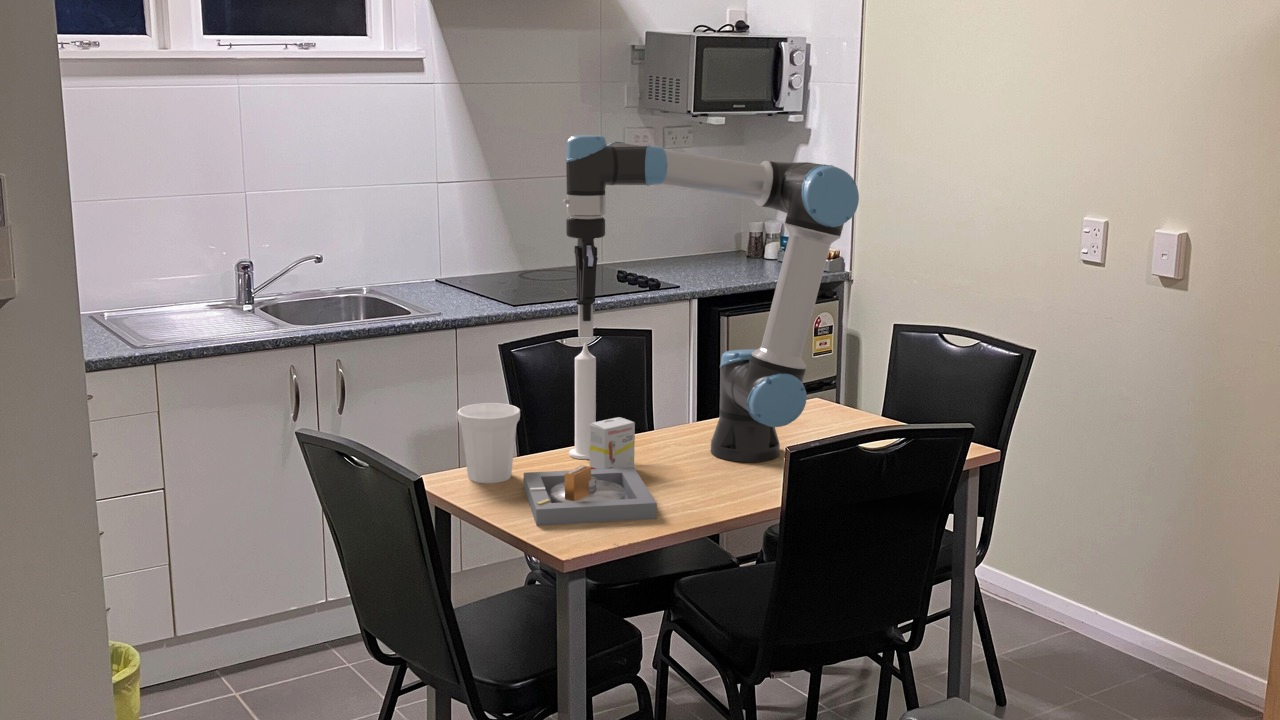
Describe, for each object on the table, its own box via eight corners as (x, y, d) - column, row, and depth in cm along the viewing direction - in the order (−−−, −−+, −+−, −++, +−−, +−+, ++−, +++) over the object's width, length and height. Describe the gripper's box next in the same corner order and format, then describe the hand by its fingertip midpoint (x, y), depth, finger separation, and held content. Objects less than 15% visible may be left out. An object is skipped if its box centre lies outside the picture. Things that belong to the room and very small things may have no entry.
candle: (607, 456, 271) (607, 344, 265) (577, 461, 267) (578, 347, 262) (592, 448, 277) (592, 338, 271) (563, 452, 273) (563, 341, 268)
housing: (633, 488, 249) (634, 465, 248) (656, 526, 228) (656, 501, 227) (523, 494, 245) (523, 471, 244) (536, 533, 224) (536, 507, 223)
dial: (575, 485, 245) (575, 449, 244) (638, 496, 239) (638, 460, 237) (536, 505, 233) (536, 467, 232) (600, 518, 227) (600, 479, 225)
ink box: (604, 484, 252) (604, 428, 249) (588, 479, 255) (588, 423, 253) (635, 476, 257) (636, 421, 255) (619, 471, 261) (619, 416, 258)
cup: (469, 472, 258) (467, 401, 255) (527, 476, 257) (527, 404, 253) (450, 491, 246) (449, 416, 243) (511, 495, 245) (511, 419, 241)
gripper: (562, 213, 246) (562, 330, 251) (571, 220, 234) (571, 343, 239) (599, 213, 248) (599, 329, 253) (610, 219, 235) (610, 342, 240)
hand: (585, 336), depth 246 cm, fingers closed
